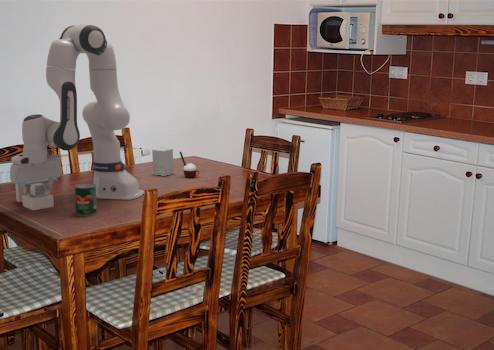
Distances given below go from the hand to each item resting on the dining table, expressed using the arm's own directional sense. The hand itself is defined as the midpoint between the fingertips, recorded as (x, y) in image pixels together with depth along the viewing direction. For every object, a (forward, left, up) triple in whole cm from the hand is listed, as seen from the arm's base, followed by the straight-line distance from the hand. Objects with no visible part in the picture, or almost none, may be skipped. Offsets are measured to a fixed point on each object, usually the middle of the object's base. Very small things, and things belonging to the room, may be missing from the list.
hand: (37, 191), depth 260 cm
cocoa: (-34, -71, -6) cm, 79 cm away
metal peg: (0, 0, -6) cm, 6 cm away
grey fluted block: (-20, -71, -6) cm, 74 cm away
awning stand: (+3, -5, -6) cm, 8 cm away
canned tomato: (-23, +2, -6) cm, 24 cm away
